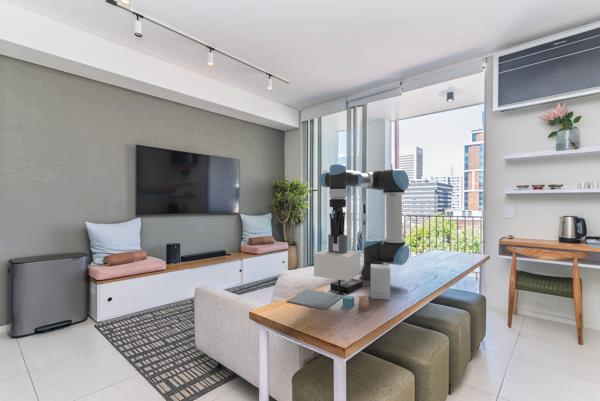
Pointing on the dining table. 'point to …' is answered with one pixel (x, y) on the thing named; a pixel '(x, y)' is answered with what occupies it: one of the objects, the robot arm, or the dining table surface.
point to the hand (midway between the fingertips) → (337, 250)
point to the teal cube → (348, 301)
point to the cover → (337, 261)
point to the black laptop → (346, 286)
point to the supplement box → (380, 281)
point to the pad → (315, 299)
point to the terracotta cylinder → (363, 303)
